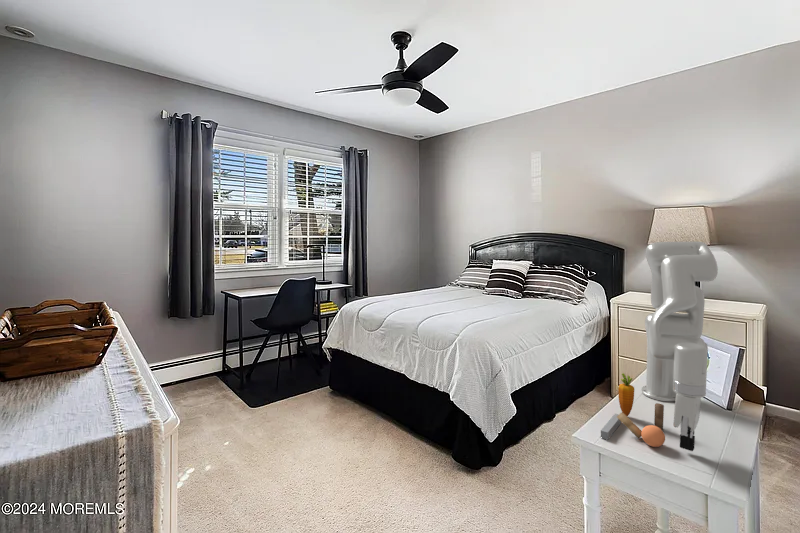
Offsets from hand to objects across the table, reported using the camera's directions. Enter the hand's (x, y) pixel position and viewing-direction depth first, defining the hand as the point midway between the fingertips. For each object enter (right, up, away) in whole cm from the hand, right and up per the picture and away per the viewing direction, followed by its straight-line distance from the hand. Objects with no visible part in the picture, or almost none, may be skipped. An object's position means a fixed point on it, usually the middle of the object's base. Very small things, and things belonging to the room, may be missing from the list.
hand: (687, 448), depth 115 cm
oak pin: (-8, 0, +8) cm, 12 cm away
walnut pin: (+1, 0, +14) cm, 14 cm away
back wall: (-14, -1, +14) cm, 20 cm away
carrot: (-5, +1, +22) cm, 23 cm away
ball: (-7, +2, +4) cm, 8 cm away
